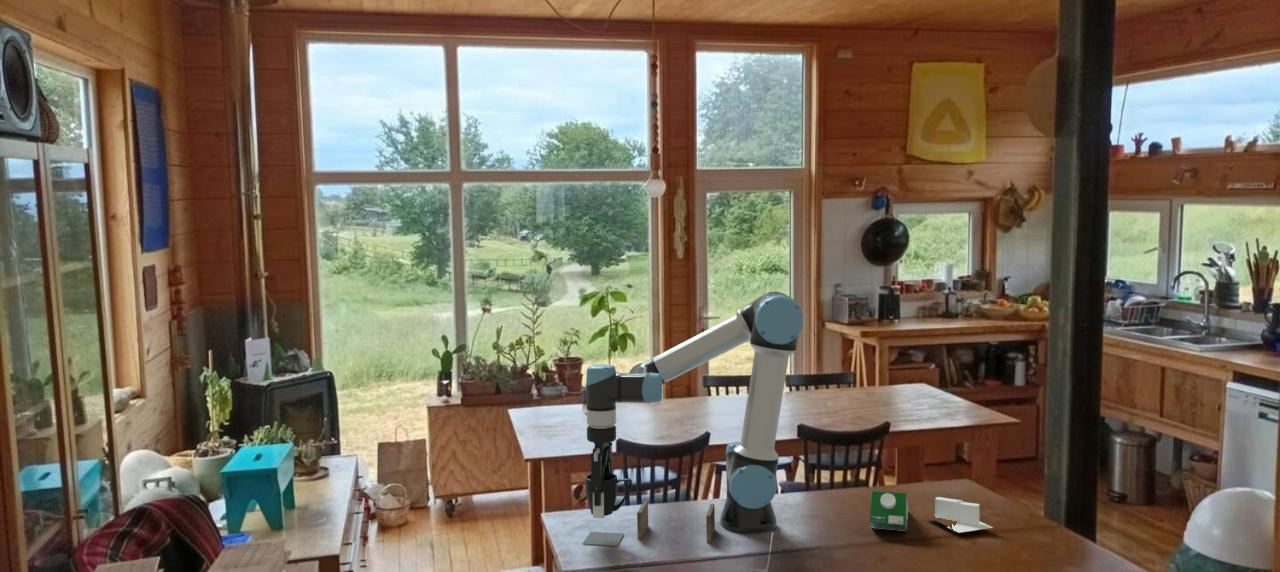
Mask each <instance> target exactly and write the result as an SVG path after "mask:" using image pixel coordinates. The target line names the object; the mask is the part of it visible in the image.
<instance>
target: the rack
mask: <svg viewBox="0 0 1280 572" xmlns="http://www.w3.org/2000/svg"><path fill="white" fill-rule="evenodd" d="M715 511H716V510H715V503H710V505H709V508H708V510H707V513H706V515H705V516H706V521H705V522H706V526H705V527H706V543H707V544H708V543H711V542H712V539H713V536H714V533H715V531H716V525H715V522H716V517H715ZM636 518H637V519H636V520H637V521H636V522H637V524H636V525H637V539H638V540H642V539H643V537H644V535H645V533H646V531H647V530H648V528H649V501H648V500H644V501H643V502H642V504H641V505H640V508H638V510H637V515H636Z"/></svg>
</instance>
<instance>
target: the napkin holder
mask: <svg viewBox="0 0 1280 572" xmlns="http://www.w3.org/2000/svg"><path fill="white" fill-rule="evenodd" d="M934 514H935V517H936V518H942V519H946V520H952V521H957V523H956V525H955V526H954V525H953V524H952V529H953V530H952V529H951V528H950V527H949V526H948V527H947V529H950V530H952V531H954V532H957V533H959V534H960V533H966V532H974V531H978V530H987V529H993V528H994V527H993V526H991V525H988V524H987V523H985V522H982V521H980V503H974V502H973V503H972V502H966V501H963V500H962V499H954V498H947V497H940V496H937V497H935V499H934Z"/></svg>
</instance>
